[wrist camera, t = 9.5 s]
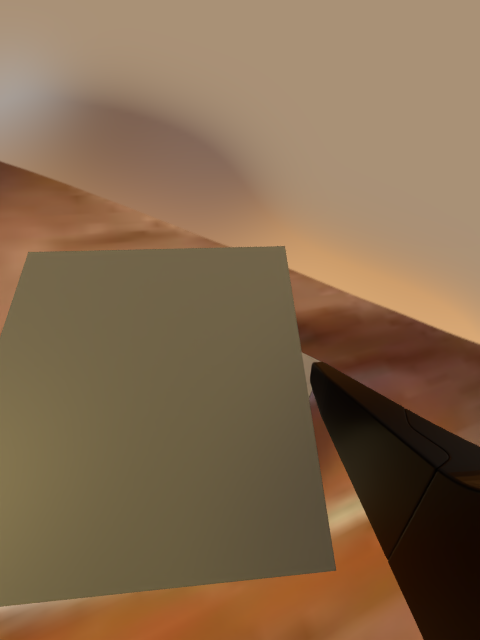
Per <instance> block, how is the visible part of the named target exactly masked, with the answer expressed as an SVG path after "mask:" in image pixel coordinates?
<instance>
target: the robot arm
mask: <svg viewBox="0 0 480 640" xmlns="http://www.w3.org/2000/svg"><path fill="white" fill-rule="evenodd" d="M310 384H311V387H312V390H313V393H314V396H315V399H316V402H317V405H318V408H319V411H320V414H321V417H322V419H323V421H324V424H325V426H326V428H327V430H328V432H329V434H330V437H331V439H332V441H333V443H334V445H335V447H336V450H337V452H338V454H339V456H340V458H341V460H342V463H343V465H344V467H345V469H346V471H347V473H348V476H349V478H350V480H351V482H352V484H353V486H354V489H355V491H356V493H357V495H358V497H359V499H360V502H361V504H362V506H363V508H364V510H365V513H366V515H367V517H368V519H369V521H370V523H371V526H372V528H373V530H374V532H375V534H376V536H377V539H378V541H379V543H380V545H381V547H382V549H383V552H384V554H385V556H386V558H387V559H388V563H389V565H390V567H391V569H392V572H393V574H394V576H395V578H396V580H397V582H398V585H399V587H400V589H401V591H402V593H403V595H404V598H405V600H406V602H407V604H408V606H409V608H410V611H411V613H412V615H413V617H414V619H415V621H416V624H417V626H418V628H419V630H420V632H421V635H422V637H423V639H424V640H480V447H479V446H477V445H475V444H473V443H471V442H469V441H467V440H465V439H463V438H461V437H459V436H457V435H455V434H453V433H451V432H449V431H447V430H445V429H443V428H441V427H439V426H437V425H435V424H433V423H431V422H429V421H428V420H426V419H424V418H422V417H420V416H418V415H417V414H415V413H413V412H411V411H410V410H408V409H404V407H402V406H401V405H399V404H397V403H395V402H393V401H392V400H390V399H388V398H386V397H384V396H383V395H381V394H379V393H377V392H376V391H374V390H372V389H370V388H368V387H367V386H365V385H363V384H361V383H360V382H358V381H356V380H354V379H352V378H351V377H349V376H347V375H345V374H344V373H342V372H340V371H338V370H336V369H335V368H333V367H331V366H329V365H328V364H326V363H324V362H313V363H312V366H311V373H310Z"/></svg>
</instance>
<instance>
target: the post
mask: <svg viewBox="0 0 480 640" xmlns="http://www.w3.org/2000/svg"><path fill="white" fill-rule="evenodd" d="M327 571H336V566H335V560H334V553H333V547H332V541H331V535H330V528H329V522H328V516H327V509H326V503H325V497H324V490H323V484H322V478H321V471H320V465H319V459H318V453H317V446H316V440H315V434H314V427H313V421H312V415H311V408H310V402H309V396H308V389H307V383H306V377H305V371H304V364H303V358H302V352H301V345H300V339H299V333H298V326H297V320H296V314H295V307H294V301H293V295H292V288H291V282H290V276H289V270H288V264H287V257H286V251H285V246H277V247H232V248H188V249H145V250H102V251H59V252H28V255H27V258H26V261H25V264H24V267H23V270H22V273H21V276H20V279H19V282H18V285H17V288H16V291H15V294H14V297H13V300H12V303H11V306H10V309H9V312H8V315H7V318H6V321H5V324H4V327H3V330H2V333H1V336H0V607H1V606H11V605H20V604H29V603H39V602H48V601H57V600H67V599H76V598H85V597H95V596H104V595H113V594H123V593H132V592H141V591H150V590H160V589H169V588H178V587H188V586H197V585H206V584H216V583H225V582H234V581H244V580H253V579H262V578H272V577H281V576H290V575H300V574H309V573H318V572H327Z"/></svg>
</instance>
